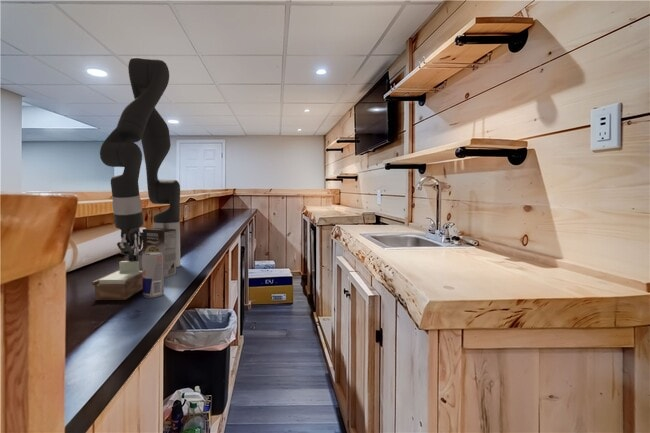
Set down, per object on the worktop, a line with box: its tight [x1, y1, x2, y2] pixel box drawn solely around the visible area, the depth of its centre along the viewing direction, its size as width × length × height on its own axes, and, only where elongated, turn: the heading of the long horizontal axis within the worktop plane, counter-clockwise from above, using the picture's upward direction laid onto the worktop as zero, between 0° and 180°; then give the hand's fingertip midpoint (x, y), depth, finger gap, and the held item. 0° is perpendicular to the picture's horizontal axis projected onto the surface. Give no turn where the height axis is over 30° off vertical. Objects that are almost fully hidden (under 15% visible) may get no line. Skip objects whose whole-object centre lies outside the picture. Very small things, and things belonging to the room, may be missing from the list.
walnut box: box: [91, 269, 143, 301], centre depth 104 cm, size 14×9×5 cm, turn 4°
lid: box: [99, 260, 142, 284], centre depth 103 cm, size 11×7×4 cm, turn 4°
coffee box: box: [142, 227, 177, 278], centre depth 126 cm, size 9×6×16 cm
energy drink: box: [141, 252, 165, 299], centre depth 102 cm, size 5×5×12 cm
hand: (134, 265), depth 111 cm, fingers closed
